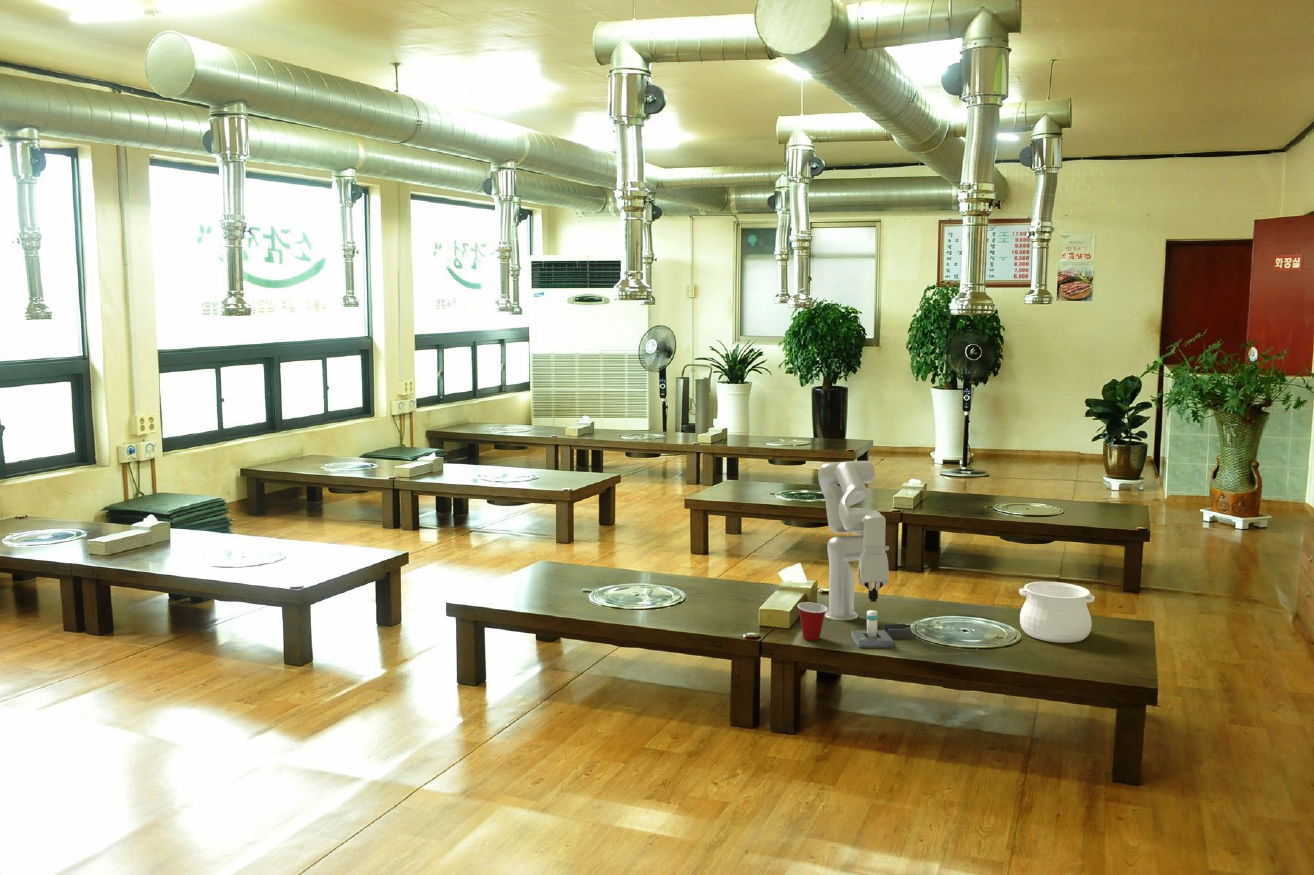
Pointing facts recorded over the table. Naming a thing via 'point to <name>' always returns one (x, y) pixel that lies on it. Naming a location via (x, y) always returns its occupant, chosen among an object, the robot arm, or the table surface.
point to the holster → (897, 630)
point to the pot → (1056, 612)
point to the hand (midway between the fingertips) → (873, 600)
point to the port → (871, 639)
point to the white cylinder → (872, 624)
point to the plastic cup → (811, 619)
